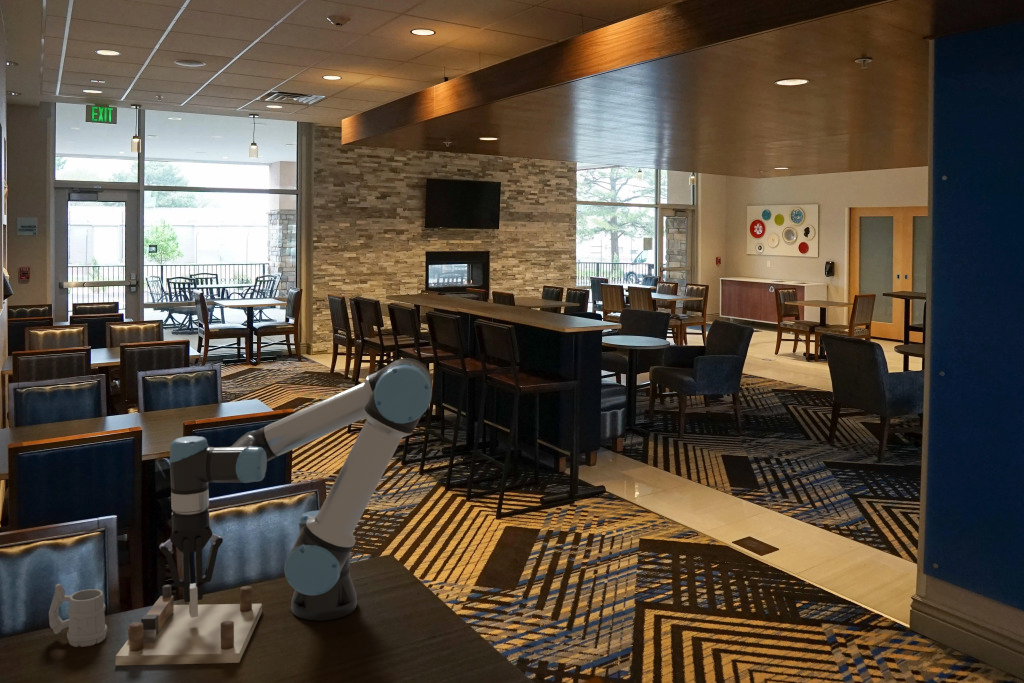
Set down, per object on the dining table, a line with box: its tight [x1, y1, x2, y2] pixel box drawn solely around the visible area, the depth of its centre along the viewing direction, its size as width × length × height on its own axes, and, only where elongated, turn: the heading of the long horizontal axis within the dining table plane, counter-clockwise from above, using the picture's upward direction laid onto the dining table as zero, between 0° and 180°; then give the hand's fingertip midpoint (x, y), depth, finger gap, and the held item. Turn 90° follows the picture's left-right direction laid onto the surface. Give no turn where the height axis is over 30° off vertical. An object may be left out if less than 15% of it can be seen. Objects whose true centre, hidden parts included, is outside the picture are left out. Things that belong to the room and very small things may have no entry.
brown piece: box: [140, 584, 175, 635], centre depth 178 cm, size 14×3×6 cm, turn 6°
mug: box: [48, 583, 108, 648], centre depth 174 cm, size 8×12×12 cm, turn 91°
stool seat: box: [115, 585, 263, 666], centre depth 177 cm, size 24×24×7 cm
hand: (193, 614), depth 178 cm, fingers closed
